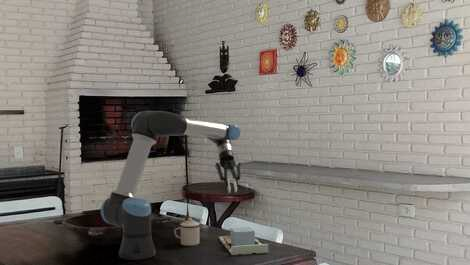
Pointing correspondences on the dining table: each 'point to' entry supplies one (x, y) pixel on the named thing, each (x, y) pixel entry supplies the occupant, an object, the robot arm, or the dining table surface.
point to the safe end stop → (249, 249)
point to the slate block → (242, 236)
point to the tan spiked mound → (187, 215)
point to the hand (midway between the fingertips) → (233, 190)
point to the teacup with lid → (189, 232)
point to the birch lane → (230, 238)
